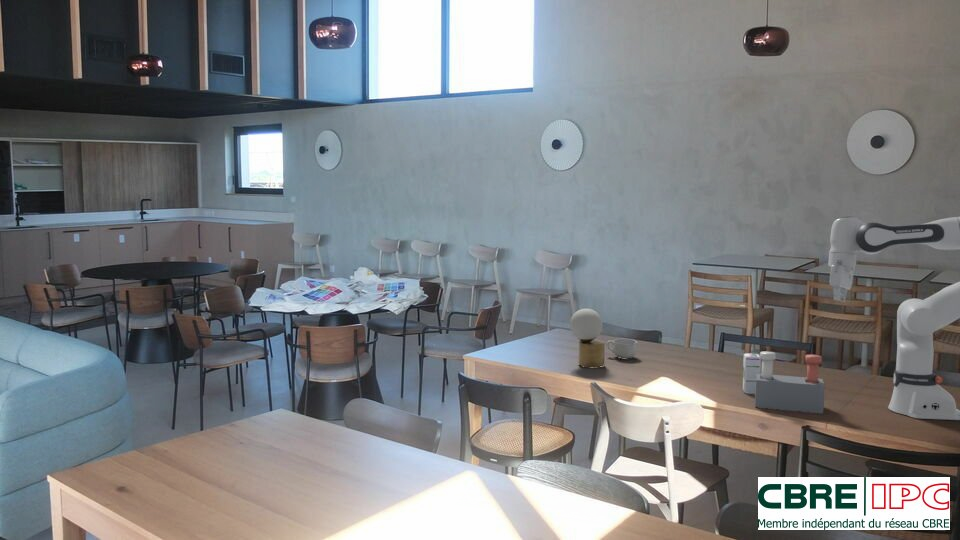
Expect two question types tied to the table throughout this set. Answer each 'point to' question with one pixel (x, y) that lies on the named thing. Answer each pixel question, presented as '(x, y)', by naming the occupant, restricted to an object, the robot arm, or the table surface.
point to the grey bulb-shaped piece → (767, 364)
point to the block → (789, 394)
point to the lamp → (588, 337)
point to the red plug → (812, 367)
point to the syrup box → (750, 372)
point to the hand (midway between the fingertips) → (839, 300)
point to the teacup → (623, 347)
